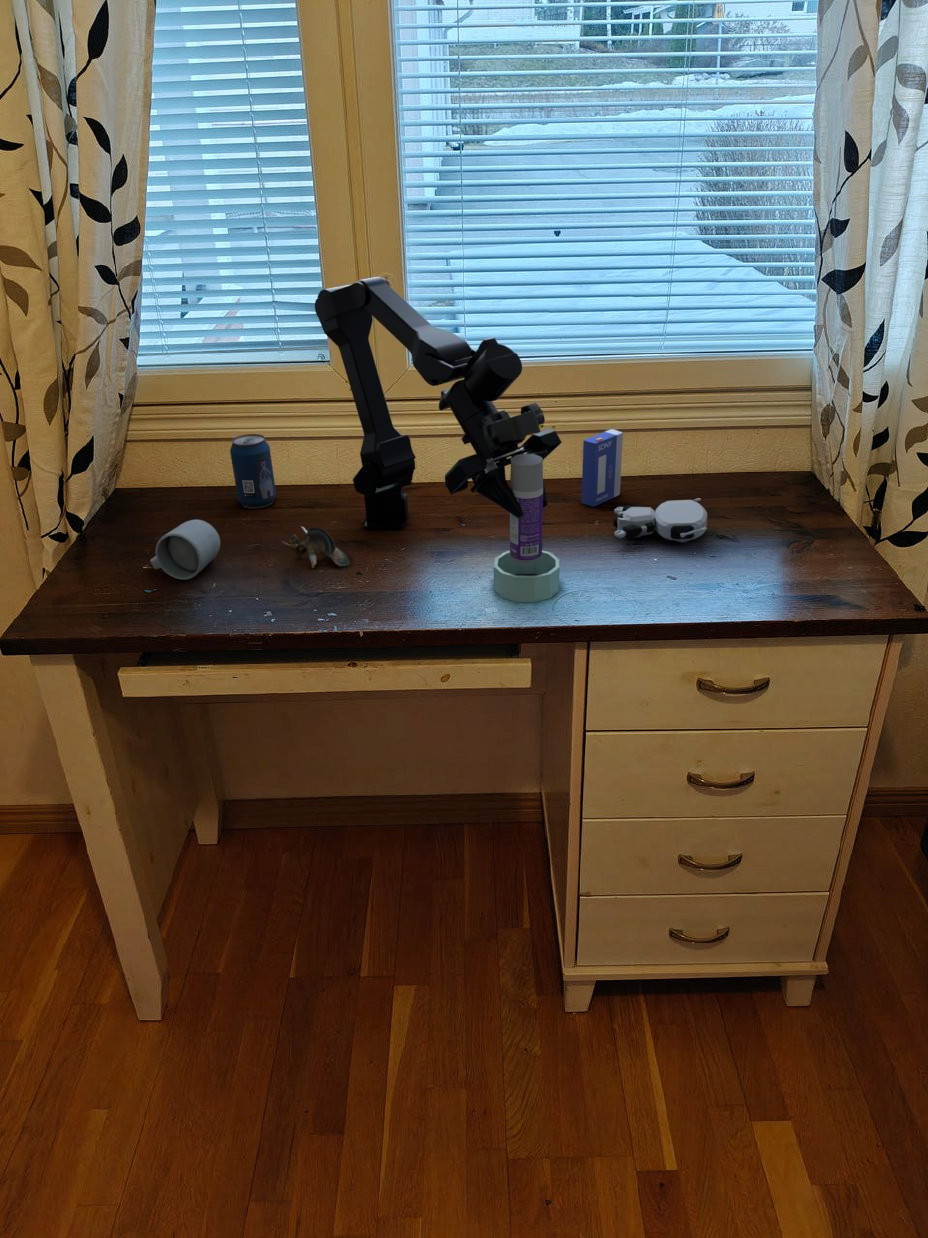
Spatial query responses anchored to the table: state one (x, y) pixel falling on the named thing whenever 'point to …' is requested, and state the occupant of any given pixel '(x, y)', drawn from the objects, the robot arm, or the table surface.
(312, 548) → the grey-brown animal figure
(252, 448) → the soda can
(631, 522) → the robot toy
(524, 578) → the pale green faceted ring
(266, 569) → the table surface
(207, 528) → the ceramic mug
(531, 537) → the container
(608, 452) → the walkman
